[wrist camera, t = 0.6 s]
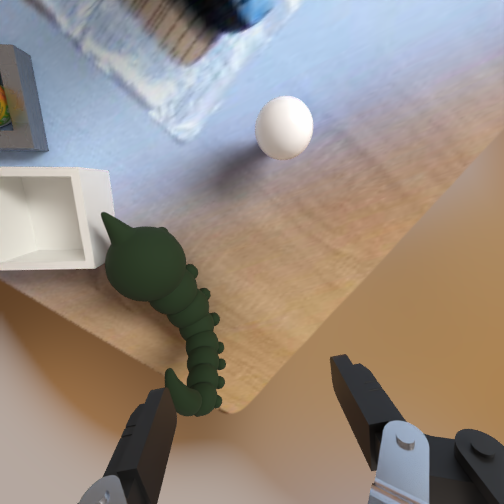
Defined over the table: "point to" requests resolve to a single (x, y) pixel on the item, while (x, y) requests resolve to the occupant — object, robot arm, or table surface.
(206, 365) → the toy figurine
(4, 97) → the supplement bottle
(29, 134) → the socket collar
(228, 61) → the table surface
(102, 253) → the bin
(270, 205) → the table surface
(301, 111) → the lightbulb
